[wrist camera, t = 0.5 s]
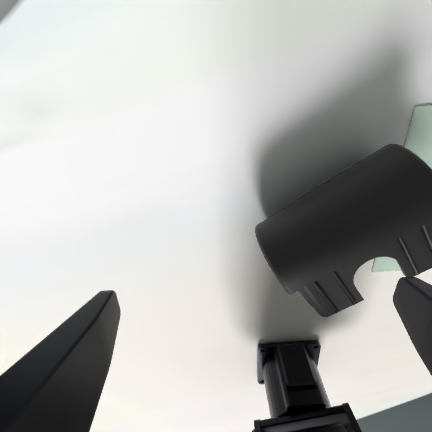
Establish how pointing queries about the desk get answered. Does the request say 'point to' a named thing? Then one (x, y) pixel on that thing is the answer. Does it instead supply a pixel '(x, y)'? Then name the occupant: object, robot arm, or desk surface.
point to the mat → (423, 147)
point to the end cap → (352, 228)
